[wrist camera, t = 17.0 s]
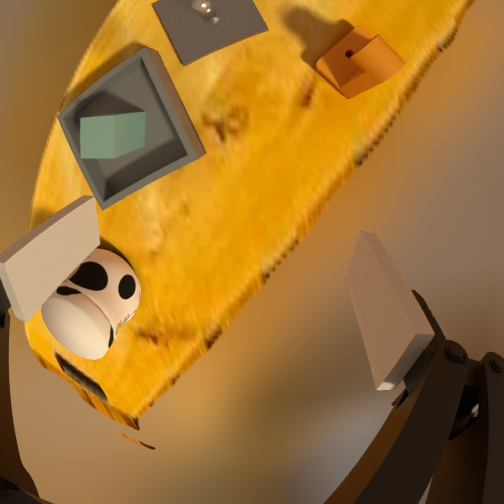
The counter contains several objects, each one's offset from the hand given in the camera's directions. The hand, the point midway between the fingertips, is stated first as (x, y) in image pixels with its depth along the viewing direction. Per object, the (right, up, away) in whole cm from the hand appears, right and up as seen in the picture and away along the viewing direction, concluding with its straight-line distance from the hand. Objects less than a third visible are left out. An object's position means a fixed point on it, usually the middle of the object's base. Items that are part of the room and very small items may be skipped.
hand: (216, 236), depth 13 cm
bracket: (+17, +28, +21) cm, 39 cm away
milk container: (-29, -6, +44) cm, 53 cm away
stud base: (-5, +36, +18) cm, 41 cm away
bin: (-19, +20, +28) cm, 39 cm away
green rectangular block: (-19, +20, +27) cm, 38 cm away
